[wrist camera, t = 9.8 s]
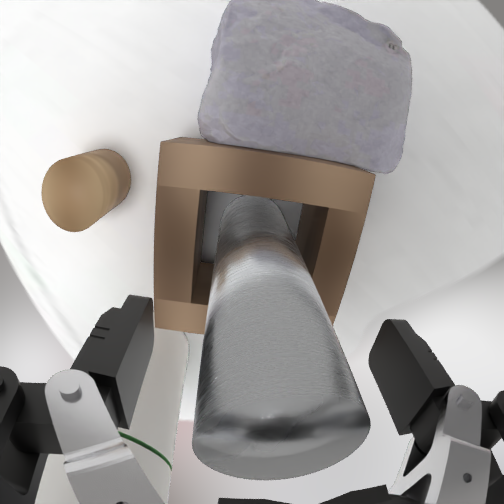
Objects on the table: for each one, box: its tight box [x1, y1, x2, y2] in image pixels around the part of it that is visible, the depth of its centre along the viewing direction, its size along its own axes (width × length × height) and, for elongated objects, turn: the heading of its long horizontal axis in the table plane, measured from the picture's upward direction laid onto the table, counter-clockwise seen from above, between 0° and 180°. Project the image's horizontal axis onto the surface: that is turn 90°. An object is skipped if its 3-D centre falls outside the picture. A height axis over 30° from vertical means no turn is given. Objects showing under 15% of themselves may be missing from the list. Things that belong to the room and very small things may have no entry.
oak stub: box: [42, 149, 131, 232], centre depth 16 cm, size 4×4×4 cm
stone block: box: [198, 0, 412, 174], centre depth 15 cm, size 12×5×10 cm
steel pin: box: [192, 195, 371, 480], centre depth 13 cm, size 4×4×15 cm
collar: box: [154, 137, 376, 334], centre depth 17 cm, size 10×10×5 cm
